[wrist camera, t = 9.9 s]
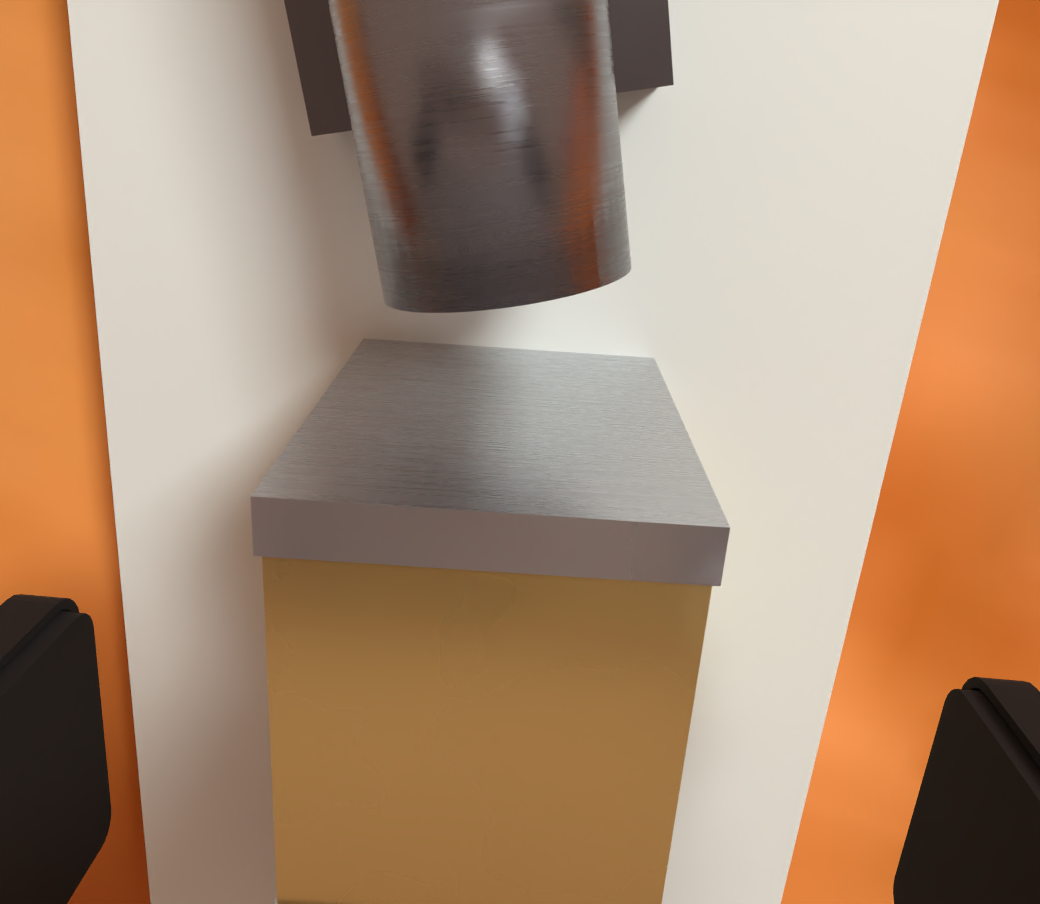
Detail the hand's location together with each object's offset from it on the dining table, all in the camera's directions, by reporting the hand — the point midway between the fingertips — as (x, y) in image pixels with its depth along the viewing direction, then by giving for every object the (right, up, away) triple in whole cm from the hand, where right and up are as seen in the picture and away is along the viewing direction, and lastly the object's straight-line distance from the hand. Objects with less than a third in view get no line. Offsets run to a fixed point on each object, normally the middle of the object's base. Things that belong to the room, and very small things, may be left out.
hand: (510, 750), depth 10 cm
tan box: (0, +2, +5) cm, 5 cm away
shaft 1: (0, +9, +2) cm, 9 cm away
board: (0, +3, +6) cm, 6 cm away
